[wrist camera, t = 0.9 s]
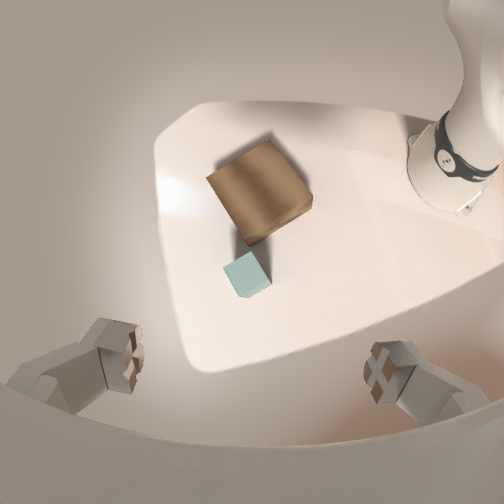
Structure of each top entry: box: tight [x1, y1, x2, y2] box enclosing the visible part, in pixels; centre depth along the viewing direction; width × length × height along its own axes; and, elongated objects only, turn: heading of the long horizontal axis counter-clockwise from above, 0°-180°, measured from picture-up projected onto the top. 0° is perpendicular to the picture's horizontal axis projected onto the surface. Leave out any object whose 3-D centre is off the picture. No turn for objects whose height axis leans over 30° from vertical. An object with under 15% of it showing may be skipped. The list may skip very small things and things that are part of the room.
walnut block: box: [206, 140, 313, 247], centre depth 46 cm, size 12×12×6 cm
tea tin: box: [223, 251, 272, 298], centre depth 42 cm, size 4×4×8 cm
